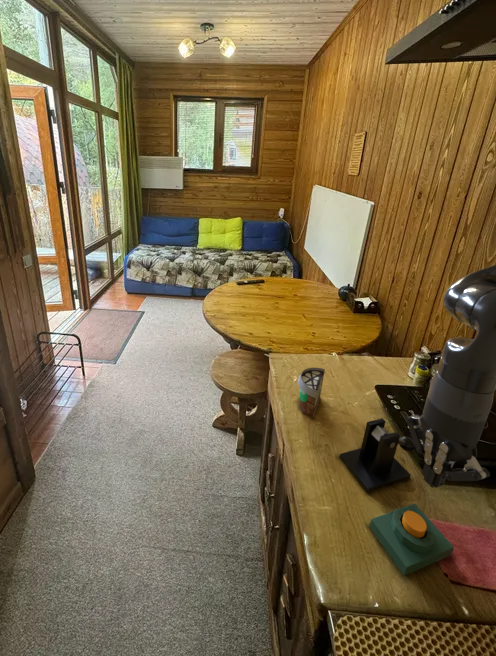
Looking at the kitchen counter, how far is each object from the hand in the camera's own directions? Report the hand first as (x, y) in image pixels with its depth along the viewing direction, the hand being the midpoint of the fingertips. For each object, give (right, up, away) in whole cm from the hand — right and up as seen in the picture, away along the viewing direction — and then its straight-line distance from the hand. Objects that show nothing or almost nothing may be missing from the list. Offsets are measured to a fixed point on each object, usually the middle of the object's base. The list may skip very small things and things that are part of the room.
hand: (431, 482), depth 54 cm
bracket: (0, -9, +18) cm, 20 cm away
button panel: (-1, -14, +4) cm, 14 cm away
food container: (-10, -3, +38) cm, 39 cm away
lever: (+3, -3, +17) cm, 18 cm away
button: (-1, -10, +3) cm, 11 cm away
